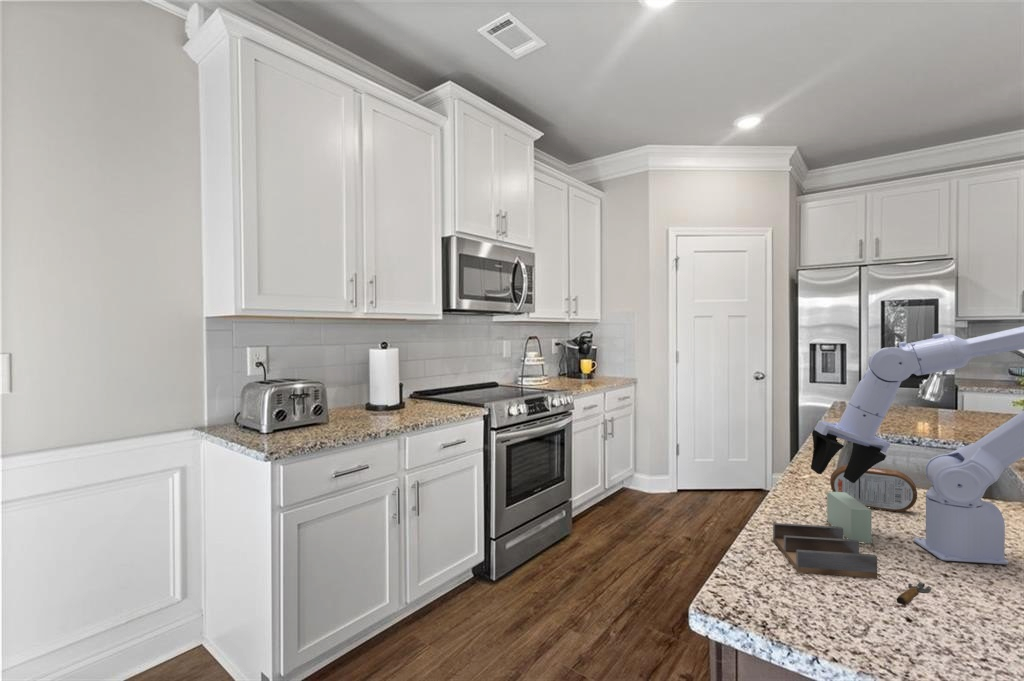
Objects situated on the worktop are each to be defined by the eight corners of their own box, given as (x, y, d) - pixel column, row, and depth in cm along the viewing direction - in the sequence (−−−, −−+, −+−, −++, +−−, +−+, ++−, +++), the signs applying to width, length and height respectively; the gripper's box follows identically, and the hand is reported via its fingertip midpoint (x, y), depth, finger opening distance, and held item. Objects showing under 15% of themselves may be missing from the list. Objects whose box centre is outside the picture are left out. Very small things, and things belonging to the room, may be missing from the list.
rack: (841, 545, 88) (841, 526, 88) (877, 578, 76) (877, 556, 76) (773, 540, 90) (773, 522, 90) (798, 572, 78) (798, 551, 78)
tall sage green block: (845, 522, 99) (845, 492, 98) (871, 543, 89) (871, 510, 89) (827, 521, 99) (827, 491, 99) (851, 542, 89) (851, 509, 89)
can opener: (904, 607, 69) (905, 599, 69) (885, 599, 71) (885, 591, 71) (936, 591, 73) (936, 583, 73) (917, 584, 75) (917, 576, 75)
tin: (916, 512, 104) (916, 471, 104) (918, 516, 101) (918, 475, 101) (830, 499, 112) (830, 461, 112) (830, 503, 109) (830, 465, 109)
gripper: (879, 410, 96) (847, 472, 99) (817, 392, 93) (786, 456, 96) (912, 426, 89) (876, 492, 92) (846, 407, 86) (812, 476, 89)
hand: (832, 475), depth 94 cm, fingers open, 7 cm apart
